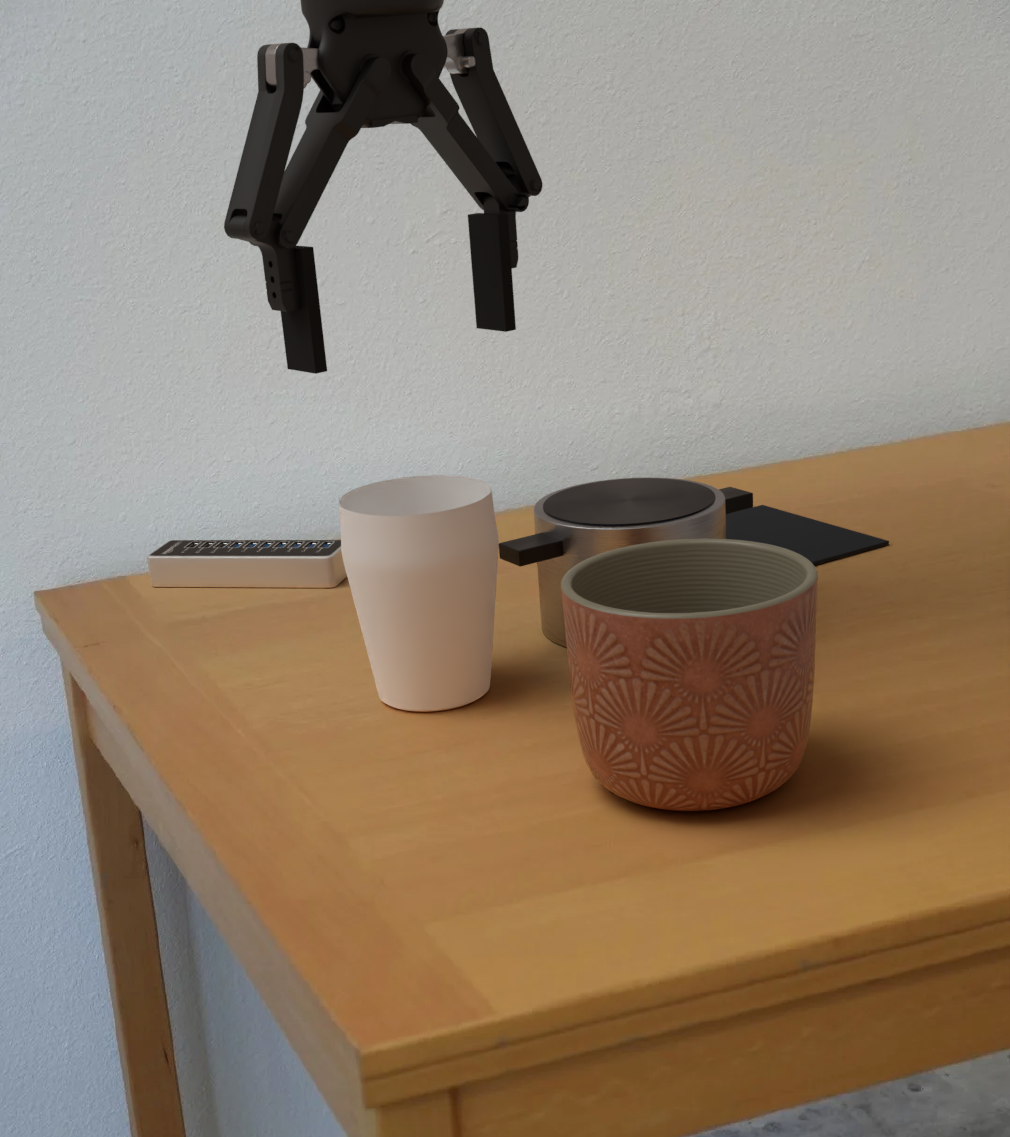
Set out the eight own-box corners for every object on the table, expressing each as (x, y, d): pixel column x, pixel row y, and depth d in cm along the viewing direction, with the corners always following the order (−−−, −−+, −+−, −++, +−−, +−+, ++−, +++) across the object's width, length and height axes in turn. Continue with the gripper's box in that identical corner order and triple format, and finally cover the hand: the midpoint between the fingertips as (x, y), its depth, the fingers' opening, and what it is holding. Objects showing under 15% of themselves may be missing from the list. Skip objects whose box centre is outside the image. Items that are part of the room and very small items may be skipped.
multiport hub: (334, 587, 122) (331, 556, 121) (149, 586, 125) (144, 556, 124) (354, 569, 125) (351, 538, 125) (174, 568, 129) (169, 539, 128)
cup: (391, 662, 106) (371, 474, 102) (529, 668, 104) (515, 474, 99) (335, 717, 99) (310, 515, 94) (482, 725, 96) (464, 517, 91)
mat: (889, 544, 121) (889, 540, 121) (734, 588, 115) (734, 583, 115) (762, 508, 132) (762, 504, 132) (615, 546, 126) (614, 542, 126)
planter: (746, 852, 79) (741, 630, 75) (526, 802, 86) (510, 596, 82) (858, 755, 88) (860, 552, 84) (651, 717, 95) (643, 528, 91)
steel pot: (803, 612, 109) (802, 489, 106) (570, 681, 101) (561, 549, 98) (689, 572, 119) (685, 457, 116) (467, 632, 111) (457, 510, 107)
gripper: (500, -66, 98) (525, 309, 107) (117, -50, 84) (181, 382, 92) (590, -78, 93) (609, 318, 101) (198, -64, 78) (258, 397, 87)
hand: (405, 349), depth 97 cm, fingers open, 13 cm apart
